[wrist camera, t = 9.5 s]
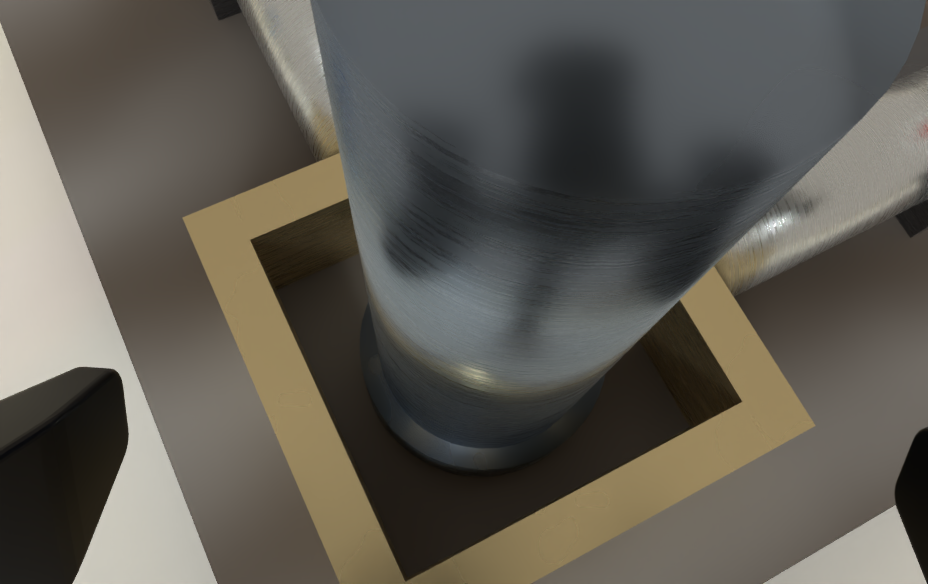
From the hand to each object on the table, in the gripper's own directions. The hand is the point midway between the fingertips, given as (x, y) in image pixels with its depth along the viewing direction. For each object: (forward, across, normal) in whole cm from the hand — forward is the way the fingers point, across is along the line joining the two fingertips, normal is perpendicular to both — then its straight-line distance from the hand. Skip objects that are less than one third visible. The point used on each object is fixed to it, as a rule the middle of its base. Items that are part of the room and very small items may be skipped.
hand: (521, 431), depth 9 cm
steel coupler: (+8, 0, +4) cm, 9 cm away
